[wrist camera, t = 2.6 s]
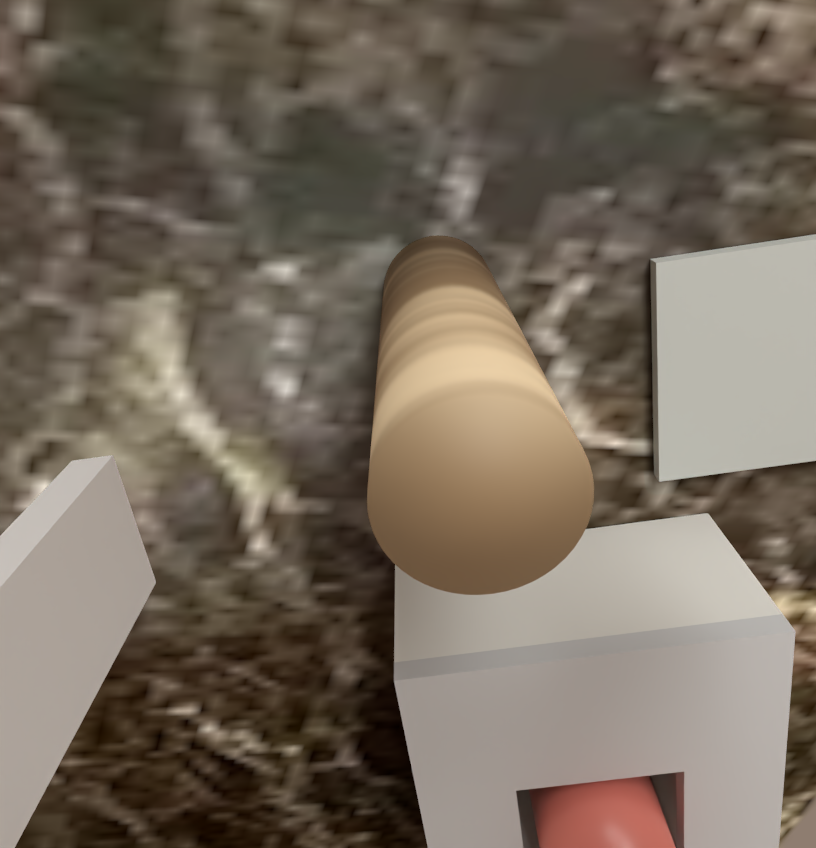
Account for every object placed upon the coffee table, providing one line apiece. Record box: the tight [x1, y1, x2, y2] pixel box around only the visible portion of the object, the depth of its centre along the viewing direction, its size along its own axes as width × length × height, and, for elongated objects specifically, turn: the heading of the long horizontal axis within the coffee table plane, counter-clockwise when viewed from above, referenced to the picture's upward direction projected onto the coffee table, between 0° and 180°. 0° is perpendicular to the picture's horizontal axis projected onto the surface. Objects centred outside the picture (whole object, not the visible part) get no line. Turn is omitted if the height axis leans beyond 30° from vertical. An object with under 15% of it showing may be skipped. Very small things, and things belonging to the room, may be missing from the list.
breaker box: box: [394, 513, 795, 848], centre depth 29 cm, size 16×12×7 cm
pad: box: [650, 234, 816, 482], centre depth 25 cm, size 8×8×1 cm
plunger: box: [529, 776, 676, 848], centre depth 26 cm, size 4×4×5 cm
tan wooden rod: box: [367, 236, 594, 595], centre depth 18 cm, size 4×4×14 cm
